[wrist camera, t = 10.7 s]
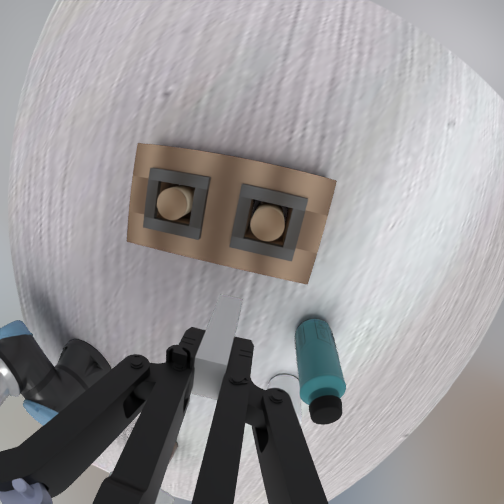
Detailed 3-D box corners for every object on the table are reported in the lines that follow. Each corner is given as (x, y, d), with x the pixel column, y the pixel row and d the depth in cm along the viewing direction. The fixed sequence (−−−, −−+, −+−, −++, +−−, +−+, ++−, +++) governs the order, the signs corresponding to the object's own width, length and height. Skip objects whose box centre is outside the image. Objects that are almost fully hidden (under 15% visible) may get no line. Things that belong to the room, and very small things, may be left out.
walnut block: (147, 229, 43) (123, 243, 35) (158, 145, 38) (134, 142, 31) (303, 265, 42) (308, 287, 35) (326, 177, 38) (338, 181, 30)
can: (285, 368, 49) (285, 415, 38) (306, 383, 50) (309, 429, 39) (261, 383, 51) (257, 428, 40) (283, 397, 52) (282, 441, 41)
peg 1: (176, 206, 40) (155, 216, 33) (180, 181, 39) (159, 185, 31) (201, 211, 40) (184, 223, 33) (205, 185, 39) (188, 191, 31)
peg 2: (253, 223, 40) (247, 237, 32) (258, 196, 39) (254, 204, 31) (279, 229, 40) (280, 244, 32) (286, 203, 38) (288, 212, 31)
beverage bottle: (286, 325, 46) (287, 416, 27) (318, 305, 44) (338, 393, 25) (306, 348, 47) (315, 437, 28) (337, 330, 45) (361, 417, 27)
